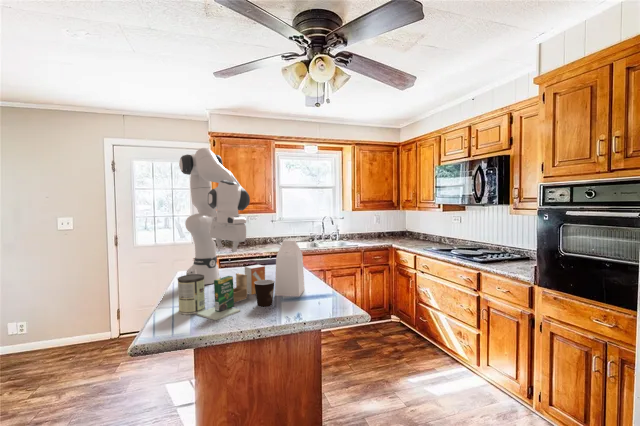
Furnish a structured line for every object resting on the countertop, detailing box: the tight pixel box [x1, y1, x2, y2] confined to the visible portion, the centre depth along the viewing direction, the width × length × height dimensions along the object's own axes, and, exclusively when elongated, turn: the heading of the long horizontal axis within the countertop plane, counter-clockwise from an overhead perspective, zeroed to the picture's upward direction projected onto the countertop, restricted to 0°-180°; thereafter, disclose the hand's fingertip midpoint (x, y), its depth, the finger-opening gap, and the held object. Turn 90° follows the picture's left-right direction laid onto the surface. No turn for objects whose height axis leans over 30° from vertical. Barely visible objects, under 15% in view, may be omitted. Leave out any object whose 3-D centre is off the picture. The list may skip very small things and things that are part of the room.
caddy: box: [233, 273, 248, 304], centre depth 144 cm, size 6×12×11 cm, turn 146°
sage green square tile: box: [196, 306, 241, 321], centre depth 128 cm, size 12×12×1 cm
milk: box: [274, 239, 306, 297], centre depth 156 cm, size 12×12×26 cm
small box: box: [244, 264, 266, 296], centre depth 157 cm, size 8×6×13 cm
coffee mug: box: [254, 279, 275, 308], centre depth 139 cm, size 12×9×10 cm
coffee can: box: [177, 274, 206, 316], centre depth 132 cm, size 10×10×14 cm
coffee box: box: [213, 275, 235, 312], centre depth 131 cm, size 8×3×13 cm, turn 146°
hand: (227, 250), depth 137 cm, fingers open, 8 cm apart
